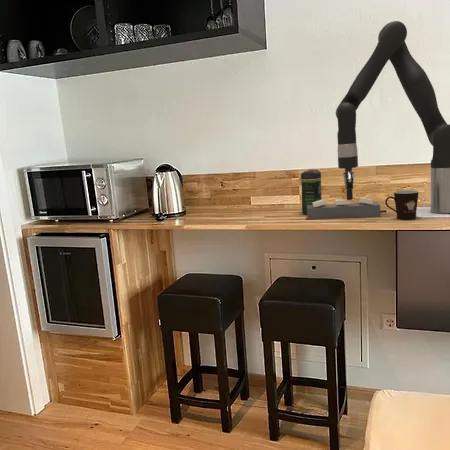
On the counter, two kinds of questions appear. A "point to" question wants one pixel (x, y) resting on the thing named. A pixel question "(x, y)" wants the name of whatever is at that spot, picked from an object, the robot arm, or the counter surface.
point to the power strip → (344, 211)
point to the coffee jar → (310, 188)
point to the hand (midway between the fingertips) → (349, 199)
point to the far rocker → (319, 203)
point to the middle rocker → (342, 201)
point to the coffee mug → (405, 204)
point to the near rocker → (366, 200)
